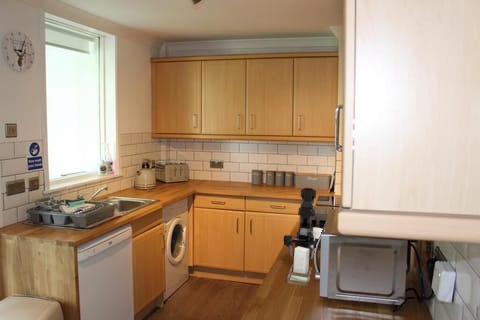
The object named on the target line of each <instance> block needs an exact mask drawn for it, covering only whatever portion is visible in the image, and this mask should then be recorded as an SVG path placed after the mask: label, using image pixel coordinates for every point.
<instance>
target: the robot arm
mask: <svg viewBox="0 0 480 320" xmlns="http://www.w3.org/2000/svg"><path fill="white" fill-rule="evenodd" d="M300 198H301V203H300V206H299V207H298V213H297V215H298V216H299V225H298V229H297V230H298V231H297V232H296V238H293V235H288V234H285V235H283V239H282V240H283V245H284V246H286V247H287V248H288V249H289V250H288V251H289V254H290V257H291V258H293V243H294V244H296V245H297V246H296V248H297V247H298V246H299V247H303V248H308V249H310V251H309V257H310V260H311V261H313V259H314V257H315V255H314V253H315V248H316V244H317V242H318V240H319V239H317V238H315V241H314V236H313V228H314V227H312V218H313V217H314V216H316V210H315V208H314V203H315V199H316V198H317V191H316V190H315V189H314V188H312V187H304V188H302V189H300ZM311 245H314V246H313V248H312V250H311ZM320 250H321V249H320V245H319V249H318V251H320ZM315 254H316V253H315Z"/></svg>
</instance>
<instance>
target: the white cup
mask: <svg viewBox="0 0 480 320" xmlns="http://www.w3.org/2000/svg"><path fill="white" fill-rule="evenodd" d="M312 228H313V236H314V241H315V238H317V239H319V237H320V235H321V232H322V230H323V229H324V228H320V227H312ZM313 246H314V245H311V247H310V249H313Z"/></svg>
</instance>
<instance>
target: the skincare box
mask: <svg viewBox="0 0 480 320" xmlns="http://www.w3.org/2000/svg"><path fill="white" fill-rule="evenodd" d="M297 246H298V245H297ZM297 246H296V247H295V248H294V254H293V255H294V256H293V265H294V269H293V271H292V272H297V273H304V274H309V271H308V267H310V265H309V264H310V263H309V262H310V256H309V251H310V252H311V248H310V249H308V248H303V247H299V246H298V247H297Z"/></svg>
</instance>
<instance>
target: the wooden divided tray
mask: <svg viewBox="0 0 480 320" xmlns="http://www.w3.org/2000/svg"><path fill="white" fill-rule="evenodd" d="M293 269H294V264H291V265H290V269H289V272H288V275H287V277H286V284H289V285H296V286H301V287H309V283H310V281H311V280H310V279H311V275H312V272H313V271H312V270H313V267H311V266H309V267H308V273H307V274H304V273H297V272H293ZM311 271H312V272H311Z"/></svg>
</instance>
